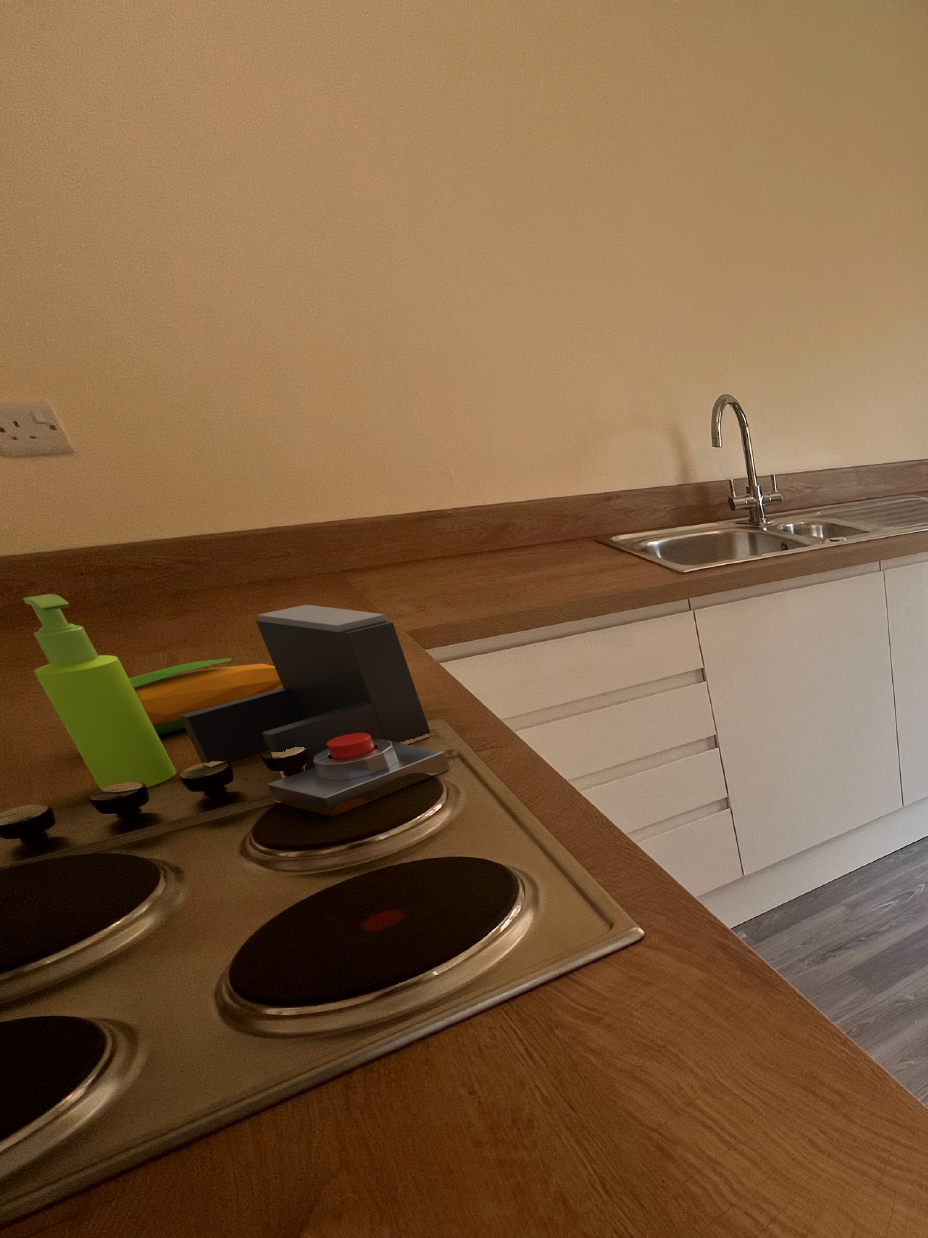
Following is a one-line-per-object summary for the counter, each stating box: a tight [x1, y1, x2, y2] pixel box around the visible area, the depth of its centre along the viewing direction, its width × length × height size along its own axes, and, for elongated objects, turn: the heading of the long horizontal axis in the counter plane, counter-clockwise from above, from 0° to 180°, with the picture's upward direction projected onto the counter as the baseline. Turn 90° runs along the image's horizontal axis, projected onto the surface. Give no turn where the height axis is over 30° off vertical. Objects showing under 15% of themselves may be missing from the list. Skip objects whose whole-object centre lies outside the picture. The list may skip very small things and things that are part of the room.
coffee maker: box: [180, 604, 431, 770], centre depth 94 cm, size 15×16×15 cm
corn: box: [128, 657, 282, 736], centre depth 105 cm, size 7×8×20 cm
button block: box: [267, 739, 451, 806], centre depth 87 cm, size 12×9×4 cm
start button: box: [327, 733, 376, 760], centre depth 86 cm, size 4×4×2 cm
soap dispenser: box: [22, 593, 177, 789], centre depth 85 cm, size 6×7×20 cm
